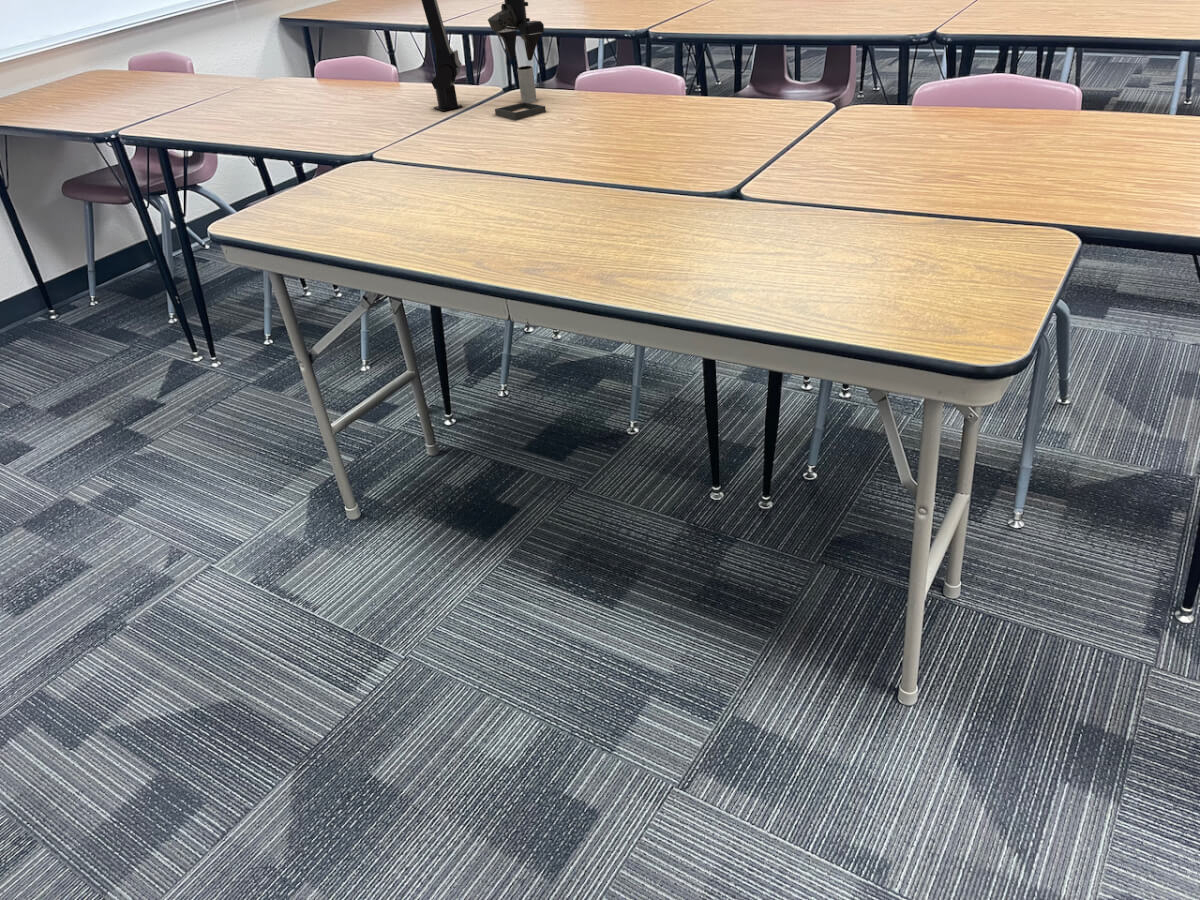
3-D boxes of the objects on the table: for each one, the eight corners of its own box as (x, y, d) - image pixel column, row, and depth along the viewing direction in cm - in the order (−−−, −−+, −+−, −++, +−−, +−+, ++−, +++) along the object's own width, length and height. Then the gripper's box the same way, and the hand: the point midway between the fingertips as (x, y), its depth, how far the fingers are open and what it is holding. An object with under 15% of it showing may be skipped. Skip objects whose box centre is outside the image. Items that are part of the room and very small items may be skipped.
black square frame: (495, 116, 243) (494, 108, 242) (525, 109, 248) (524, 102, 247) (515, 120, 236) (514, 113, 235) (546, 113, 241) (545, 106, 240)
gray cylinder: (538, 102, 255) (533, 65, 249) (536, 105, 251) (531, 68, 245) (523, 103, 255) (518, 66, 249) (520, 106, 252) (516, 69, 246)
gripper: (472, 1, 241) (480, 61, 249) (508, 3, 228) (515, 66, 236) (505, -4, 246) (512, 55, 255) (542, -2, 233) (548, 60, 242)
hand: (520, 59), depth 247 cm, fingers open, 9 cm apart
